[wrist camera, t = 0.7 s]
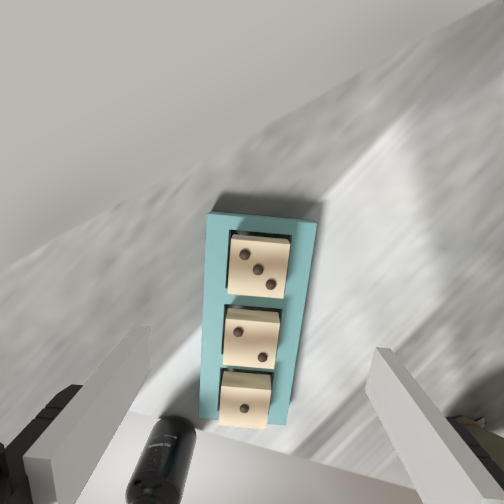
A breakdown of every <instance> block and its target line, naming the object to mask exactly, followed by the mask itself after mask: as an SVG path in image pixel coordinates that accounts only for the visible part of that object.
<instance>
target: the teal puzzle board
mask: <svg viewBox="0 0 504 504" xmlns="http://www.w3.org/2000/svg"><path fill="white" fill-rule="evenodd" d="M316 228H317V223H316V222H314V221H313V220H303V219H292V218H281V217H270V216H259V215H247V214H236V213H225V212H214V211H210V212H209V213H207V223H206V248H205V272H204V297H203V322H202V347H201V372H200V396H199V418H203V419H215V420H219V412H220V397H221V396H220V387H221V372H222V368H232V369H244V370H256V371H268V372H271V396H270V404H269V411H268V419H267V424H275V425H286V421H287V414H288V408H289V401H290V395H291V389H292V382H293V376H294V369H295V363H296V356H297V350H298V344H299V337H300V331H301V324H302V318H303V312H304V305H305V299H306V292H307V286H308V279H309V273H310V267H311V260H312V254H313V247H314V241H315V235H316ZM231 230H241V231H252V232H264V233H275V234H286V235H289V240H288V241H289V243H290V251H289V258H288V266H287V274H286V281H285V289H284V297H283V299H282V298H270V297H259V296H247V295H236V294H227V293H228V266H229V251H230V236H231ZM226 304H232V305H243V306H255V307H266V308H278V309H280V310H279V321H280V327H279V335H278V343H277V350H276V358H275V366H274V369H266V368H254V367H243V366H231V365H223V352H224V327H225V312H226Z"/></svg>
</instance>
